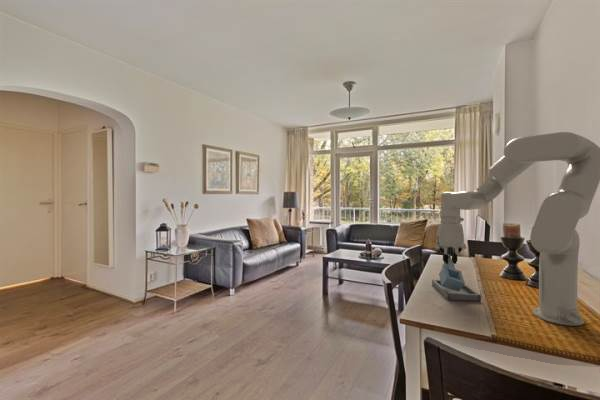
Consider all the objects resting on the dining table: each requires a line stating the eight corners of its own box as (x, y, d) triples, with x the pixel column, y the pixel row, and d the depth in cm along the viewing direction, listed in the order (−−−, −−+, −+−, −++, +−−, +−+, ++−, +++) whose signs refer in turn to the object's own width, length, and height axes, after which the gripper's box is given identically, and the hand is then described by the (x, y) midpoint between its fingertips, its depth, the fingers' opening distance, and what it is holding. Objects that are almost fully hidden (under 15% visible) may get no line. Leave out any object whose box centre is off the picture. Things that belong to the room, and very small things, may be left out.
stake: (452, 282, 135) (451, 255, 135) (446, 282, 135) (446, 255, 135) (449, 280, 138) (449, 253, 138) (443, 280, 139) (443, 253, 138)
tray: (480, 301, 111) (480, 295, 111) (447, 300, 113) (447, 294, 113) (460, 286, 130) (460, 280, 130) (432, 285, 132) (432, 279, 132)
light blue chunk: (452, 269, 129) (457, 261, 126) (458, 291, 118) (465, 283, 115) (436, 264, 129) (441, 256, 127) (441, 286, 118) (447, 277, 116)
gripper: (466, 219, 128) (466, 261, 128) (427, 219, 130) (427, 260, 130) (474, 221, 120) (474, 265, 121) (433, 221, 122) (433, 264, 123)
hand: (450, 262), depth 125 cm, fingers closed on light blue chunk, 2 cm apart
